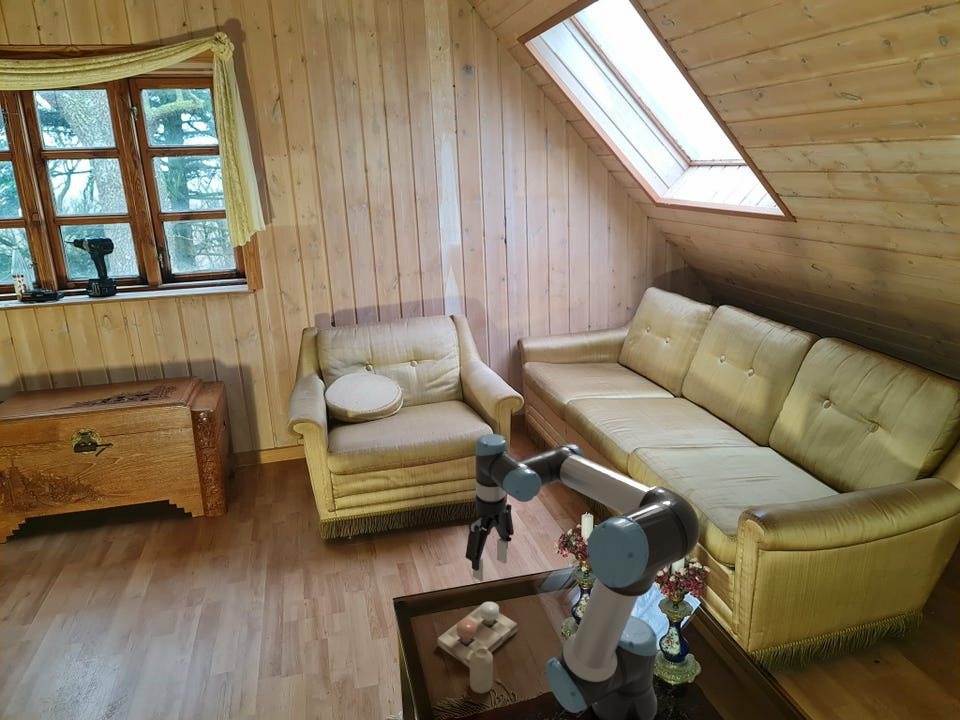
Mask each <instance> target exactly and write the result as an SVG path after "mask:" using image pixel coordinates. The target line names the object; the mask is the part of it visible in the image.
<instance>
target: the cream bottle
mask: <svg viewBox="0 0 960 720" xmlns="http://www.w3.org/2000/svg"><path fill="white" fill-rule="evenodd" d="M493 667H494V656H493V654H492V653H490V652H489V651H488V650H486V649H484V648H480V649H477V650H475V651H473V652H472V653H471V655H470V668H469V686H470V688H471V690H472V691H473V692H475V693H478V694H486V693H488V692H489V691H491V689H492V687H493V681H494V680H493V679H494V677H493V676H494V675H493V674H494V669H493Z"/></svg>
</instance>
